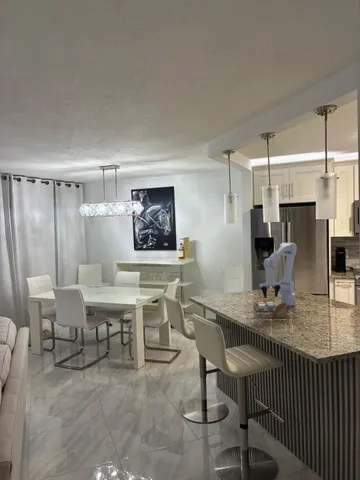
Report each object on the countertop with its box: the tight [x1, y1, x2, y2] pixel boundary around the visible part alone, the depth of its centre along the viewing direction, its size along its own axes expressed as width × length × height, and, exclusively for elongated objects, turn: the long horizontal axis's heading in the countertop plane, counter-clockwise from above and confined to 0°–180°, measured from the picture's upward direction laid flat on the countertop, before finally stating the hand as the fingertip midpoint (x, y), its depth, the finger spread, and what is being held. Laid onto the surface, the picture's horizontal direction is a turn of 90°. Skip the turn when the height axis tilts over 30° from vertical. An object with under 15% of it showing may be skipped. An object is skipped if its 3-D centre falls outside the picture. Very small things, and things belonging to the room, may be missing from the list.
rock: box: [271, 302, 288, 321], centre depth 218 cm, size 11×9×10 cm
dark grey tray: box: [253, 303, 277, 313], centre depth 239 cm, size 14×18×2 cm
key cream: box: [257, 303, 266, 309], centre depth 236 cm, size 4×4×2 cm
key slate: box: [268, 303, 276, 308], centre depth 235 cm, size 4×4×2 cm
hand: (270, 297), depth 235 cm, fingers open, 7 cm apart
